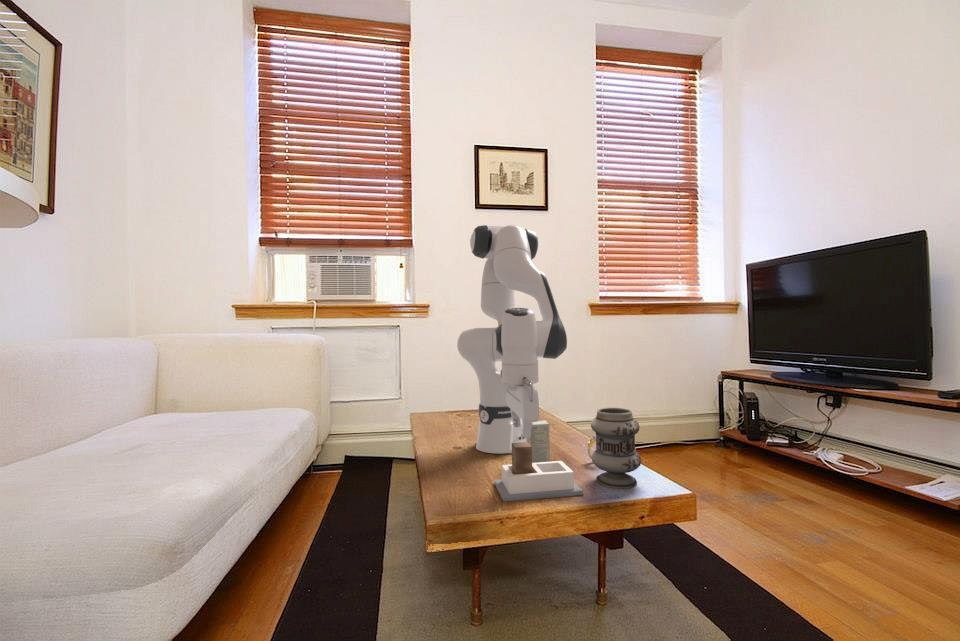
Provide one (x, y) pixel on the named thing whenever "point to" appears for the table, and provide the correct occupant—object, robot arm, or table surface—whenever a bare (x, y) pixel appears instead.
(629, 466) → the apothecary jar
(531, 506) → the table surface
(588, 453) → the ring
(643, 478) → the table surface
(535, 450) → the skincare box
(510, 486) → the slot rack
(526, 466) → the walnut peg
